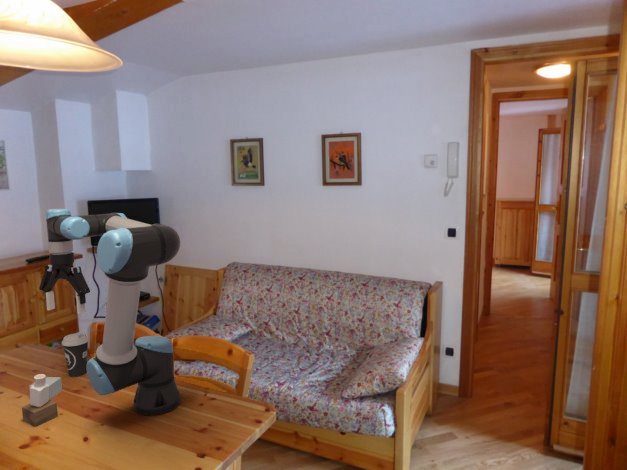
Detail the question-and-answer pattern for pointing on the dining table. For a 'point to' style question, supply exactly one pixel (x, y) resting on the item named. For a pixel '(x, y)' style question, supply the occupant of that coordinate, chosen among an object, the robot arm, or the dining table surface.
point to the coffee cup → (76, 353)
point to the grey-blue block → (52, 385)
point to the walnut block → (39, 413)
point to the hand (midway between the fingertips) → (66, 311)
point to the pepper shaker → (39, 391)
